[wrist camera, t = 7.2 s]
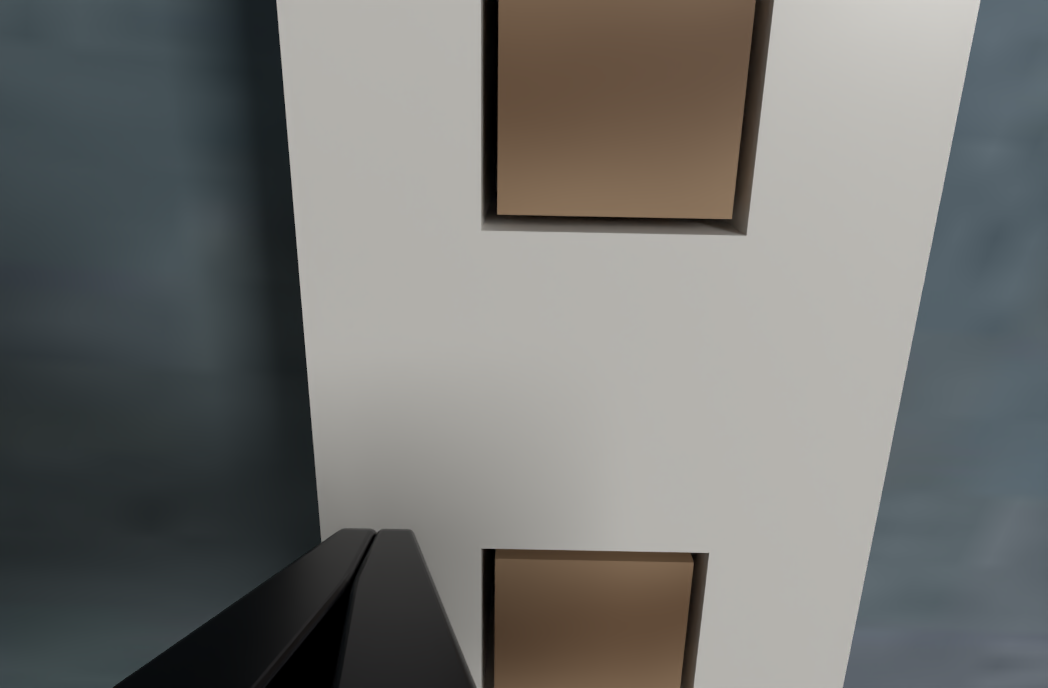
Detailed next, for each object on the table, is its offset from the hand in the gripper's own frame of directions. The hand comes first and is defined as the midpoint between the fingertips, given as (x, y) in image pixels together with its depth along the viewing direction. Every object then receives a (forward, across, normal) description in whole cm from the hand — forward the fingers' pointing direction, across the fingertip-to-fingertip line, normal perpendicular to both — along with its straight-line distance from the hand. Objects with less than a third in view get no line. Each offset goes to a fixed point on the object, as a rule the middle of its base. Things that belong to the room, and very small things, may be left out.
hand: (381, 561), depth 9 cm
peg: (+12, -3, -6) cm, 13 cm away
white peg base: (+12, -4, 0) cm, 13 cm away
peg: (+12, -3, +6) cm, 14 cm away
